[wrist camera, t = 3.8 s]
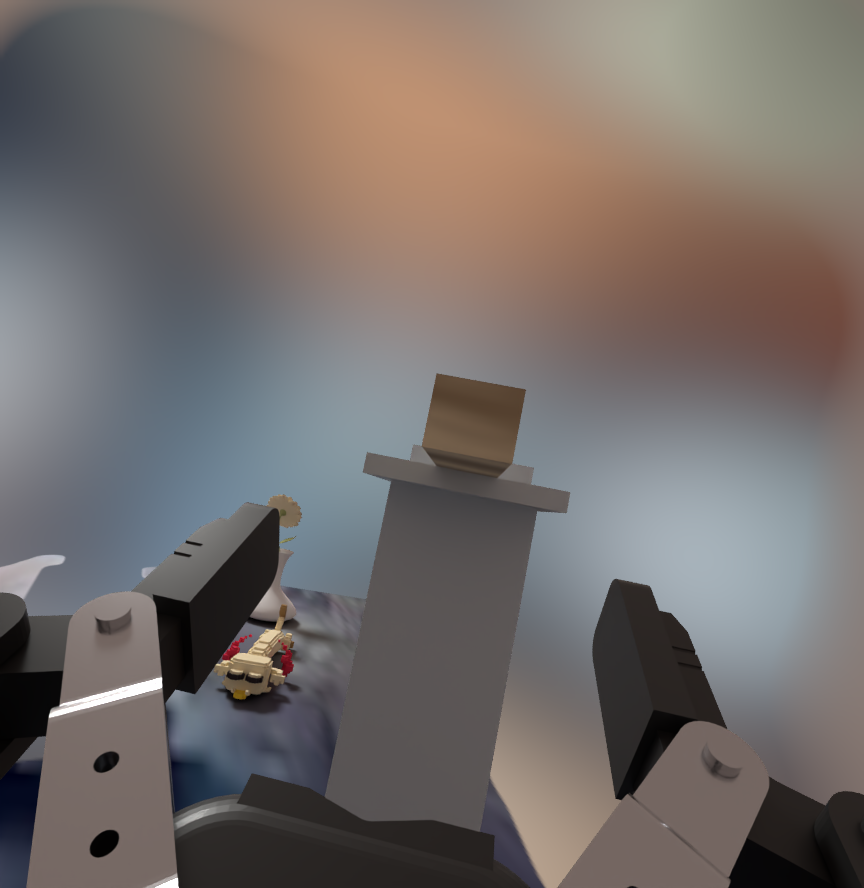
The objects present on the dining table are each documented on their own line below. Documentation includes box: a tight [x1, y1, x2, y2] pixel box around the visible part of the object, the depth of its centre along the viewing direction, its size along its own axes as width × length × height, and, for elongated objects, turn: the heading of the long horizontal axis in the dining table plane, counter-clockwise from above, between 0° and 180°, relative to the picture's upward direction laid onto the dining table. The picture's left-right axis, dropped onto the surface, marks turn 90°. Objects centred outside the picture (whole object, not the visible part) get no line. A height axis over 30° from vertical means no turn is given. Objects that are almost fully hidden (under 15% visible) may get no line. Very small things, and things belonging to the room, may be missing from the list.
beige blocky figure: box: [214, 604, 294, 700], centre depth 79 cm, size 10×9×25 cm
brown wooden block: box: [422, 374, 526, 478], centre depth 34 cm, size 26×4×3 cm, turn 176°
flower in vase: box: [250, 495, 302, 622], centre depth 108 cm, size 13×11×25 cm
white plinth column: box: [325, 445, 570, 832], centre depth 40 cm, size 22×14×35 cm, turn 176°
